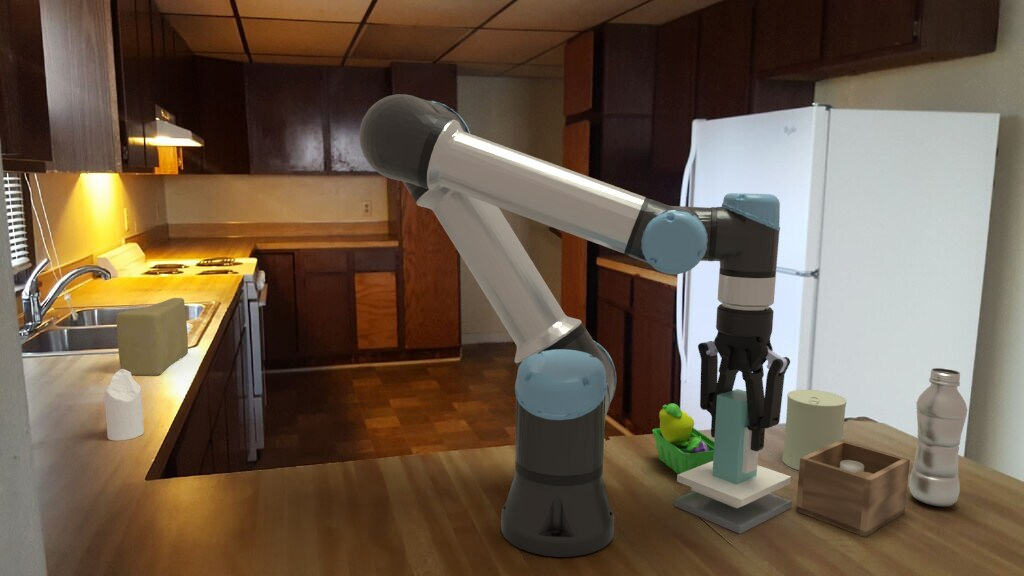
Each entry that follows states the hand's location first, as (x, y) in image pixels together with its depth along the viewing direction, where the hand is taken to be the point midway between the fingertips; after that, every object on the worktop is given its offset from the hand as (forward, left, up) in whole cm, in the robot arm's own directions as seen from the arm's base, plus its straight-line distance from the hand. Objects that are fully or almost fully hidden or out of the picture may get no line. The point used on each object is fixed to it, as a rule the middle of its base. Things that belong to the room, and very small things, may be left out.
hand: (735, 465), depth 108 cm
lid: (0, 0, -4) cm, 4 cm away
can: (+25, +1, -7) cm, 26 cm away
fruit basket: (+6, +13, -7) cm, 16 cm away
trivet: (0, 0, -6) cm, 6 cm away
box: (+12, -12, -6) cm, 18 cm away
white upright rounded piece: (-61, +84, -7) cm, 104 cm away
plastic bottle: (+25, -18, -7) cm, 31 cm away
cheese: (-41, +133, -7) cm, 140 cm away
